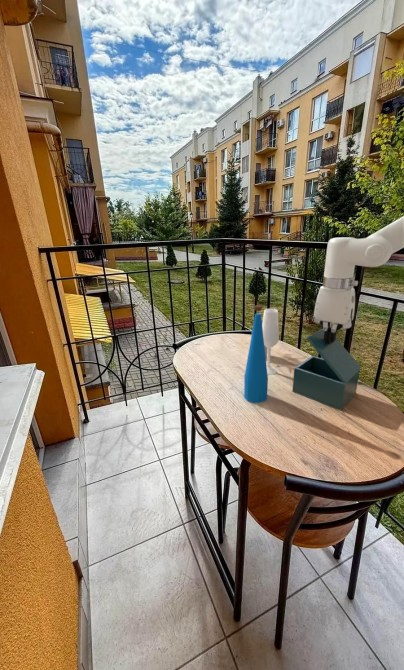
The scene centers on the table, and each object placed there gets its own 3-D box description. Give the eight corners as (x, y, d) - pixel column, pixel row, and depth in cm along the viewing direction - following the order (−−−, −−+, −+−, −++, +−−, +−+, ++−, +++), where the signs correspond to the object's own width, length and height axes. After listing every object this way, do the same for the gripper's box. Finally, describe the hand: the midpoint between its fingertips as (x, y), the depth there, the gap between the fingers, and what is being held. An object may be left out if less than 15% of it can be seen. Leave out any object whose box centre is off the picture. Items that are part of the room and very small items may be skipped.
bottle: (241, 400, 90) (242, 308, 79) (247, 388, 96) (250, 302, 85) (263, 405, 87) (268, 310, 76) (269, 393, 93) (274, 304, 82)
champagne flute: (277, 375, 104) (281, 313, 96) (259, 374, 105) (261, 312, 97) (276, 367, 110) (280, 308, 102) (259, 366, 112) (261, 307, 103)
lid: (306, 338, 84) (308, 336, 84) (324, 327, 93) (326, 326, 92) (343, 383, 80) (346, 382, 79) (359, 368, 88) (361, 367, 87)
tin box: (292, 391, 93) (294, 368, 90) (309, 377, 102) (312, 355, 98) (340, 410, 83) (344, 384, 80) (355, 393, 91) (360, 369, 88)
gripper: (370, 284, 77) (359, 345, 84) (317, 279, 87) (311, 334, 94) (361, 288, 72) (350, 353, 79) (306, 282, 82) (300, 340, 89)
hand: (329, 342), depth 86 cm, fingers closed
